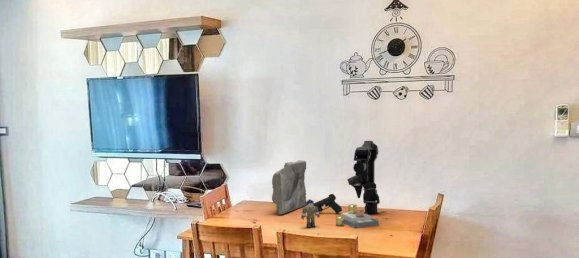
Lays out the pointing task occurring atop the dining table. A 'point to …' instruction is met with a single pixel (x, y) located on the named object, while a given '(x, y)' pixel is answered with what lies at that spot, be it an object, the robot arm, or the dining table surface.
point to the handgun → (328, 204)
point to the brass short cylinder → (352, 209)
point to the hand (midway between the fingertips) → (363, 199)
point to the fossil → (289, 187)
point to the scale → (359, 220)
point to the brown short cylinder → (359, 213)
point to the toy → (310, 213)
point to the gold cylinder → (339, 220)
